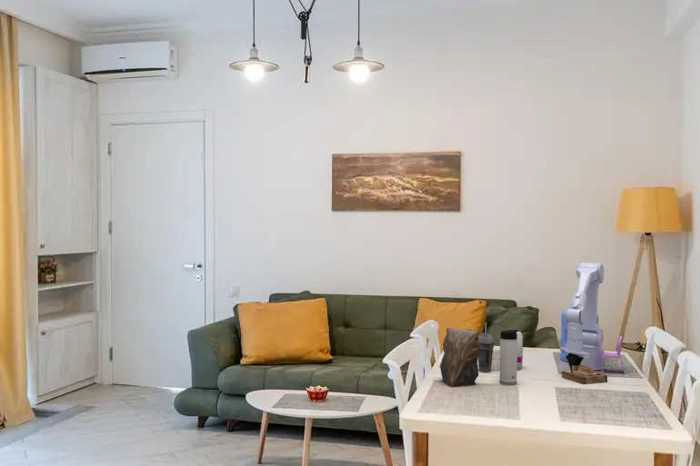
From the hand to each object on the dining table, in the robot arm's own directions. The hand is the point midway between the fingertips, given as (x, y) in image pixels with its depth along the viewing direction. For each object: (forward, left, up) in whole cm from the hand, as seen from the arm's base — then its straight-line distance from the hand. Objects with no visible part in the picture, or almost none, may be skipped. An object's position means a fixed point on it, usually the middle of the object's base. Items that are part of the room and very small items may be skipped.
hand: (574, 373), depth 269 cm
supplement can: (+13, -22, -1) cm, 26 cm away
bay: (0, +5, -1) cm, 5 cm away
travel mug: (+31, 0, -1) cm, 31 cm away
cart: (0, +6, -1) cm, 6 cm away
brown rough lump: (+50, -7, -1) cm, 50 cm away
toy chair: (-21, -1, -2) cm, 21 cm away
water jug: (-25, -25, -1) cm, 36 cm away
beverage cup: (+27, -21, -1) cm, 34 cm away
